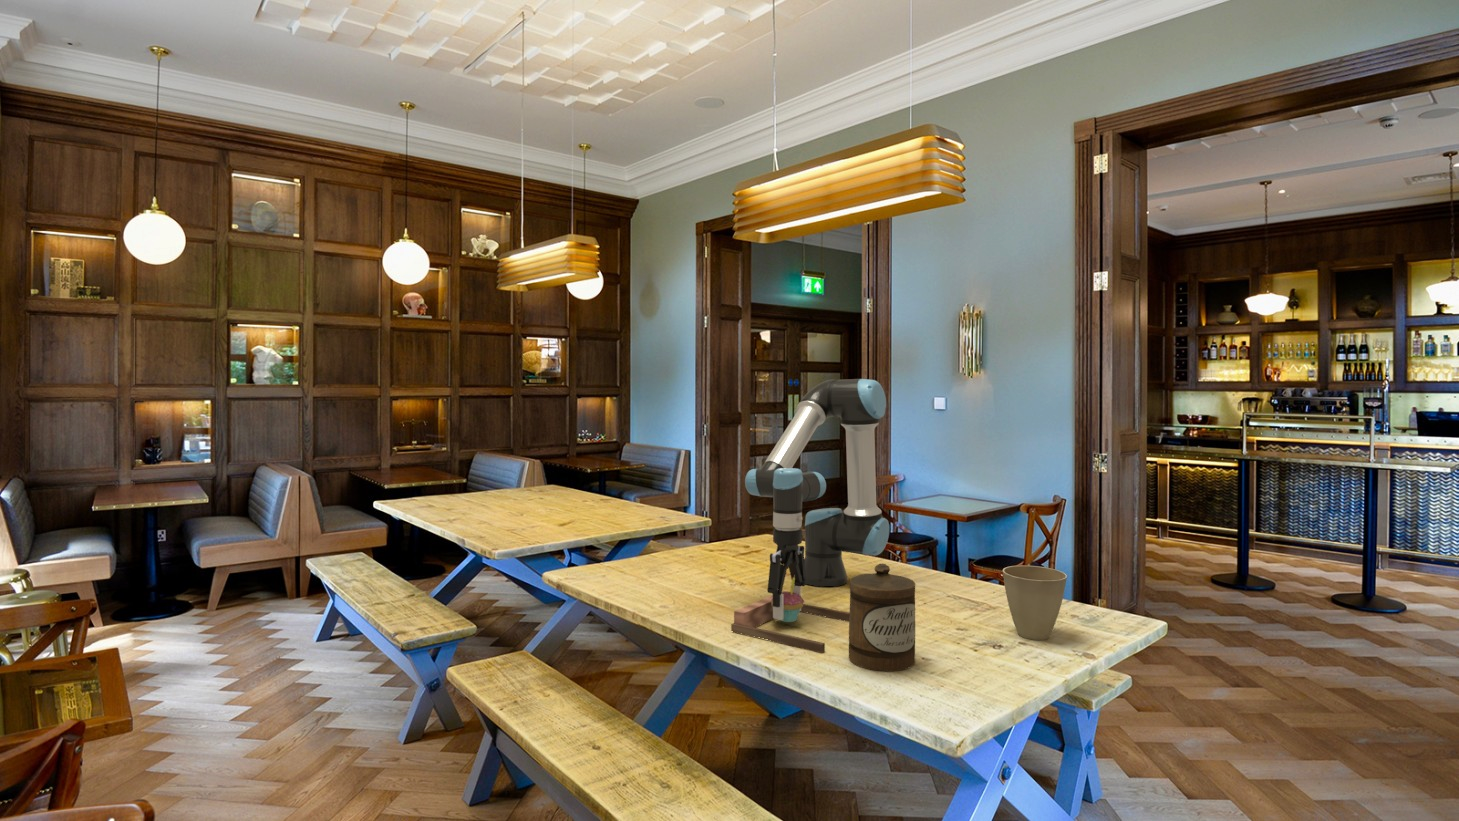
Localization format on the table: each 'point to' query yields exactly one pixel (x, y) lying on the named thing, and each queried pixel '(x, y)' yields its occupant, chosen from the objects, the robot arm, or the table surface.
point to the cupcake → (791, 604)
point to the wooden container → (882, 621)
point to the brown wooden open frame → (763, 612)
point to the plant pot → (1034, 599)
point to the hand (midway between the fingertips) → (787, 614)
